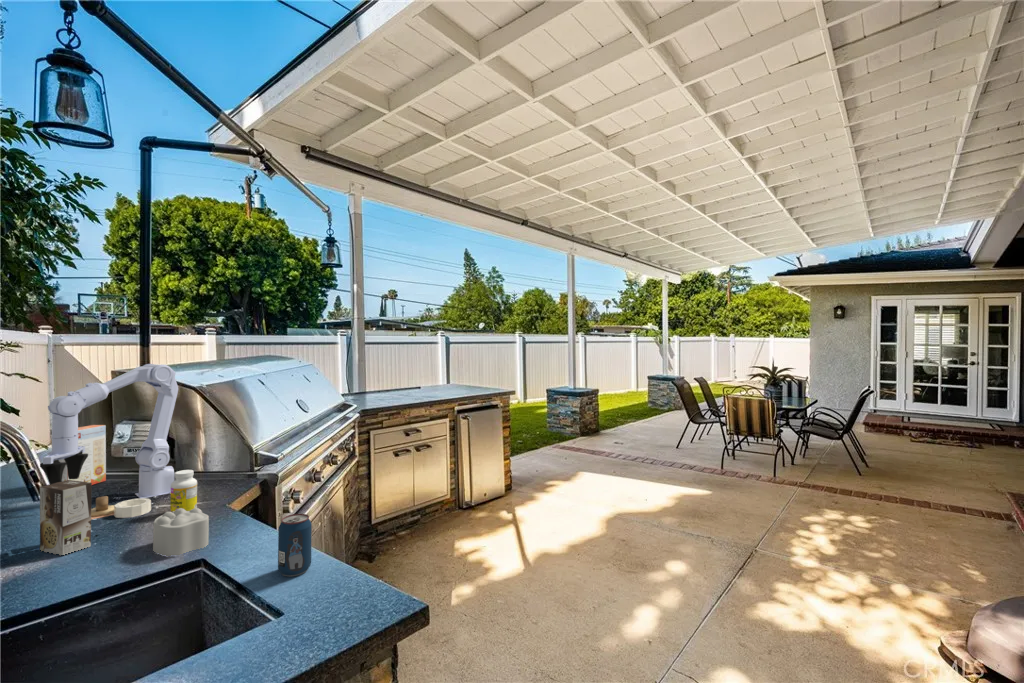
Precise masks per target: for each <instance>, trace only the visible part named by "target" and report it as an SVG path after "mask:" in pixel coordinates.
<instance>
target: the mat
mask: <svg viewBox="0 0 1024 683" xmlns="http://www.w3.org/2000/svg"><path fill="white" fill-rule="evenodd" d="M109 516H114V513H113V514H109V515H105V516H99V517H91V521H92V520H95V519H96V520H97V519H102V518H106V517H109Z"/></svg>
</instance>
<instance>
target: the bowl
mask: <svg viewBox="0 0 1024 683" xmlns="http://www.w3.org/2000/svg"><path fill="white" fill-rule="evenodd" d="M113 505H114V515H113V516H114V517H115V518H118V519H127V518H134V517H140V516H142V515H146V514H148V513H149V512H151V510H152V500H151V498H145V497H144V498H132V499H128V500H127V499H126V500H123V501H120V502H117V503H116V504H113Z"/></svg>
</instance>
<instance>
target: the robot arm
mask: <svg viewBox="0 0 1024 683" xmlns="http://www.w3.org/2000/svg"><path fill="white" fill-rule="evenodd" d="M137 382H145V383H147V384H149V385H150V386H152V388H154V389H155V391H156V392H157V398H156V401H155V402H156V403H155V406H154V410H153V413H152V418H151V422H150V426H149V429H148V433H147V438H146V439H145V440H144V441H143V442H142V444H141V446H140V449H139V450H138V451H137V453H136V454H135V462H136V463H137V465H139V468H138V492H136V493H134V495H136V496H137V497H138V499H140V498H146V499H148V498H152V497H157V496H161V495H167V494H171V483H172V482H173V481H175V469H174V467H173V466H172V465H168V464H169V462H170V452H169V451H170V446H169V444H168V441H167V440H168V435H169V430H170V426H171V423H172V418H173V414H174V410H175V406H176V401H177V398H178V393H179V386H178V383H177V379H176V371H175V370H174V369H172V367H171V366H170V365H168V364H155V363H146V364H143V365H142V366H141V365H140V366H137V367H135V368H133V369H131V370H129V371H127V372H125V373H123V374H121V375H118V376H116V377H114V378H112V379H110V380H108V381H106V382H103V383H99V382H88V383H86V384H85V386H83V387H81V388H79V389H76V390H74V391H73V390H70V391H68V392H67V395H59V396H57V397H56V396H55V398H53V399H52V400H51V401H50V403H49V404H48V406H47V409H48V411H49V412H50V413H51V415H52V416H51V451H48V452H47V455H46V456H44V457H42V462H41V463H39V467H40V469H41V470H42V471H44V473H45V475H46V477H47V480H48V483H49V485H50V484H54V483H58V482H62V475H63V471H64V468H65V466H66V465H67V469H68V477H69V479H78V478H79V475H80V472H81V469H82V466H83V464H84V462H85V460H86V458H87V457H88V454H82V453H84V452H85V446H78V427H79V414H80V413H81V412H82V410H83V409H86V408H88V407H90V406H92V405H94V404H96V403H99V402H102V401H103V400H106V399H107V398H108V395H109V393H111V392H114V391H116V390H119V389H122V388H124V387H126V386H129V385H131V384H132V385H133V384H134V383H137ZM61 459H64V460H65V462H59V460H61Z"/></svg>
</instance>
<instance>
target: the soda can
mask: <svg viewBox="0 0 1024 683" xmlns="http://www.w3.org/2000/svg"><path fill="white" fill-rule="evenodd" d="M312 527H313V526H312V522H311V520H310V516H309V515H308V514H306V513H295V514H294V513H292V514H289V515H285V516H284V517H282V519H281V522H280V524H279V526H278V530H277V531H278V532H277V534H278V538H277V540H278V541H277V542H278V543H277V547H278V550H277V555H278V556H277V569H278V571H279V572H280V574H281V575H282V576H284V577H297V576H301V575H302V574H305V573H306V572H307V571H308V570H309V568H310V566H311V564H312V534H313V533H312V531H313V530H312V529H313V528H312Z"/></svg>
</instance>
